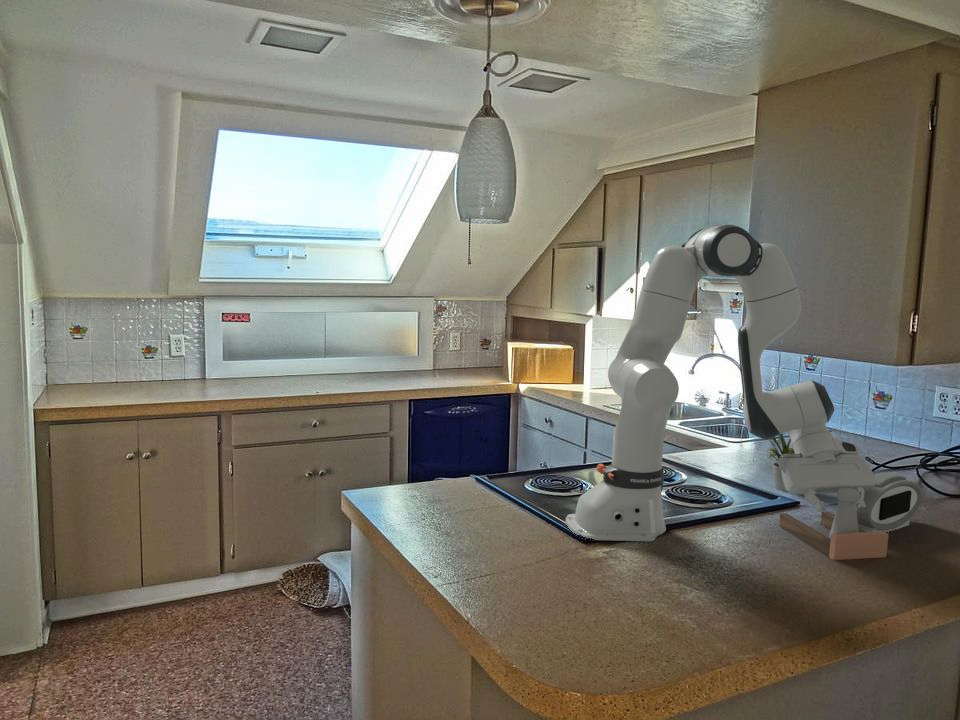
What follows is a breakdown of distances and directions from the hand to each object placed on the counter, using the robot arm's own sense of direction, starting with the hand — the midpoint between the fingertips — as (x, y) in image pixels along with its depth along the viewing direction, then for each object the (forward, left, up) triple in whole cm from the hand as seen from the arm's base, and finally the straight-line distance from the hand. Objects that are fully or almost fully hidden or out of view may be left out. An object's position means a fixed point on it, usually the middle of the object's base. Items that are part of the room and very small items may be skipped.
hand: (841, 509), depth 158 cm
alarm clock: (+17, +8, -8) cm, 21 cm away
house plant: (+11, +40, -8) cm, 42 cm away
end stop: (0, -6, -8) cm, 10 cm away
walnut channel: (0, +4, -8) cm, 9 cm away
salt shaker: (0, -1, -8) cm, 8 cm away
